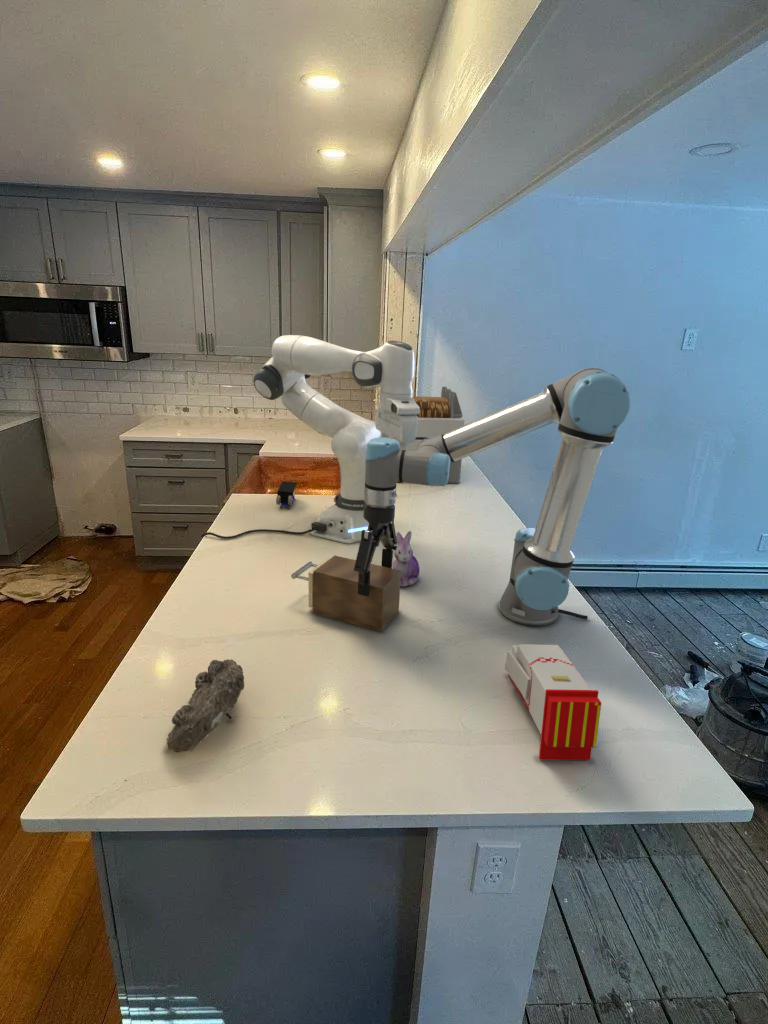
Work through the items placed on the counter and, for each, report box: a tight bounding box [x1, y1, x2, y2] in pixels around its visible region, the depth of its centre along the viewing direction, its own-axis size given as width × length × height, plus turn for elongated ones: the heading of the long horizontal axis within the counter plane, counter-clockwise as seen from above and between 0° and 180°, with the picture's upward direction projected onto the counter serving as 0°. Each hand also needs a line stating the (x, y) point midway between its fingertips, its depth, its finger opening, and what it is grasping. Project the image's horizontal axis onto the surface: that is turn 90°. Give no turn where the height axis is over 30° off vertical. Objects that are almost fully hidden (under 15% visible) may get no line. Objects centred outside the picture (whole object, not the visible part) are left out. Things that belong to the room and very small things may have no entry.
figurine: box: [392, 530, 420, 588], centre depth 163 cm, size 9×10×15 cm
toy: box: [504, 643, 602, 761], centre depth 112 cm, size 12×13×30 cm
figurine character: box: [275, 480, 298, 509], centre depth 223 cm, size 7×8×15 cm
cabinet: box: [313, 554, 401, 633], centre depth 145 cm, size 19×11×12 cm, turn 66°
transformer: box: [389, 386, 465, 484], centre depth 268 cm, size 34×33×41 cm
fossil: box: [166, 658, 245, 754], centre depth 106 cm, size 22×10×15 cm
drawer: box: [290, 558, 330, 609], centre depth 147 cm, size 24×10×10 cm, turn 66°
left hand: (392, 451), depth 161 cm, fingers open, 8 cm apart
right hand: (375, 583), depth 142 cm, fingers open, 13 cm apart
